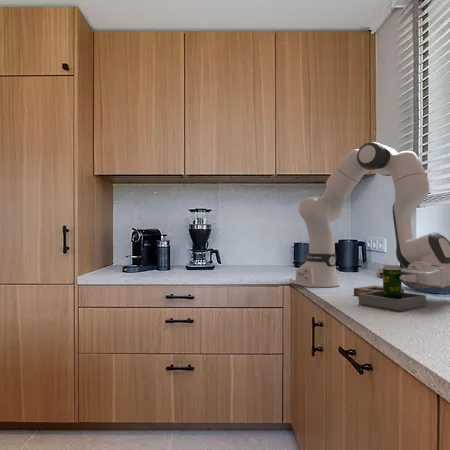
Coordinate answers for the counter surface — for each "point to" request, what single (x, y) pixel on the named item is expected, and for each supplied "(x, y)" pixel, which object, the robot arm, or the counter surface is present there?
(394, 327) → the counter surface
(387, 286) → the beer can
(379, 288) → the brown square board
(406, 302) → the tray
